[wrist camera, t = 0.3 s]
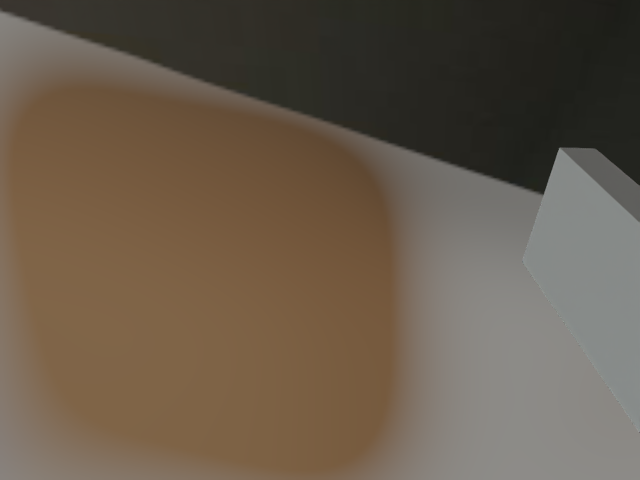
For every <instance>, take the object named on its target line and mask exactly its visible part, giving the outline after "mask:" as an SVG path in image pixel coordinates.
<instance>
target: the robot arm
mask: <svg viewBox="0 0 640 480" xmlns="http://www.w3.org/2000/svg"><path fill="white" fill-rule="evenodd" d="M522 262H523V264H524V265H525V267H526V268H527V270H528V271H529V272H530V274H531V275H532V277H533V278H534V279H535V281H536V283H537V284H538V286H539V287H540V289H541V290H542V291H543V293H544V294H545V295H546V297H547V299H548V300H549V302H550V303H551V304H552V306H553V307H554V309H555V310H556V312H557V313H558V315H559V316H560V317H561V319H562V320H563V322H564V324H565V325H566V326H567V328H568V329H569V331H570V332H571V333H572V335H573V337H574V338H575V339H576V341H577V342H578V344H579V345H580V347H581V348H582V350H583V351H584V353H585V354H586V355H587V357H588V358H589V360H590V361H591V363H592V364H593V366H594V367H595V369H596V370H597V371H598V373H599V374H600V376H601V377H602V379H603V380H604V382H605V383H606V385H607V386H608V388H609V389H610V390H611V392H612V393H613V395H614V396H615V398H616V399H617V401H618V402H619V404H620V405H621V407H622V408H623V409H624V411H625V412H626V414H627V415H628V417H629V418H630V420H631V421H632V423H633V424H634V425H635V427H636V428H637V430H638V431H639V433H640V186H639V185H638V184H636V183H635V182H634V181H633V180H632V179H631V178H629V177H628V176H627V175H626V174H625V173H623V172H622V171H621V170H620V169H619V168H618V167H616V166H615V165H614V164H613V163H612V162H610V161H609V160H608V159H607V158H606V157H605V156H603V155H602V154H601V153H600V152H599V151H597V150H596V149H588V148H559V151H558V154H557V157H556V160H555V163H554V166H553V169H552V172H551V175H550V178H549V181H548V184H547V187H546V190H545V193H544V196H543V200H542V202H541V205H540V208H539V211H538V215H537V218H536V221H535V224H534V227H533V230H532V233H531V236H530V239H529V242H528V245H527V248H526V251H525V254H524V257H523V260H522Z"/></svg>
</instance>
